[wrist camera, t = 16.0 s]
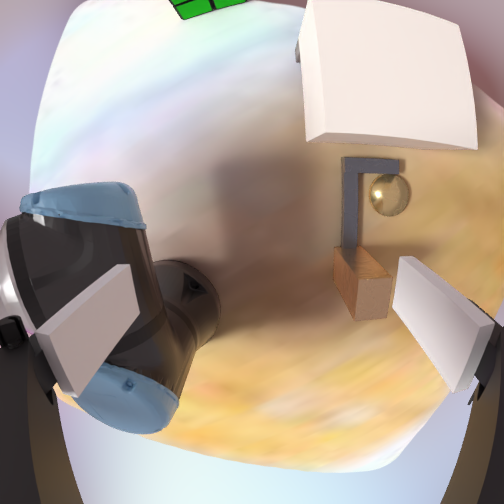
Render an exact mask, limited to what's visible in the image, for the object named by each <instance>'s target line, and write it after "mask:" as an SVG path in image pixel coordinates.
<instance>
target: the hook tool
mask: <svg viewBox="0 0 504 504" xmlns="http://www.w3.org/2000/svg"><path fill="white" fill-rule="evenodd" d="M341 168H342V232H341V247H334V269H333V280H334V282H335V284H336V286H337V288H338V290H339V292H340V294H341V296H342V298H343V300H344V302H345V303H346V305H347V307H348V309H349V311H350V313H351V315H352V317H353V319H354V321H361V320H371V319H381V318H387V312H388V306H389V300H390V294H391V286H392V279H393V277H392V276H391V275H390V274H389V273H388V272H387V271H386V270H385V269H384V268H383V267H382V266H381V265H380V264H379V263H378V262H377V261H376V260H375V259H374V258H373V257H372V256H371V255H370V254H369V253H368V252H367V251H365V250H364V249H363V248H362V247H361V246H357V228H358V173H379V174H399V160H391V159H374V158H349V157H342V158H341Z"/></svg>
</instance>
